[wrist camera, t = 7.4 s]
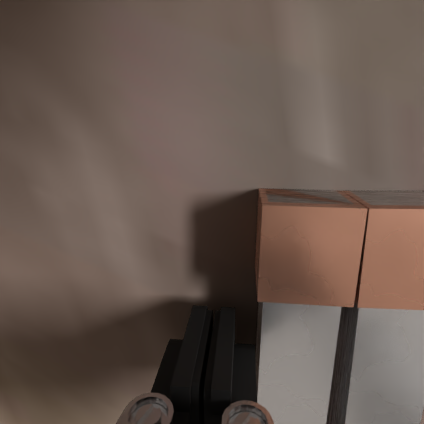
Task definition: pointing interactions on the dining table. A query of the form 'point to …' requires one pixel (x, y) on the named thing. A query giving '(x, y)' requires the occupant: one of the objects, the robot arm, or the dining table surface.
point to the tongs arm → (303, 296)
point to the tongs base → (384, 318)
